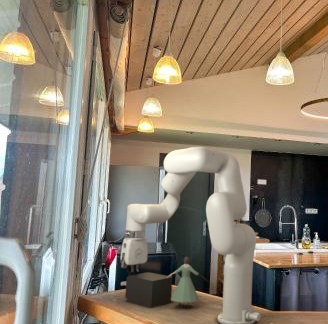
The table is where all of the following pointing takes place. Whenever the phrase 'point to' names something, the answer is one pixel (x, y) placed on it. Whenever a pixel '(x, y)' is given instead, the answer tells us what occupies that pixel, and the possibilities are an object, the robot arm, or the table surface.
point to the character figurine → (185, 285)
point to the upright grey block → (149, 289)
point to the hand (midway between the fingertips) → (131, 281)
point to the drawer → (126, 286)
